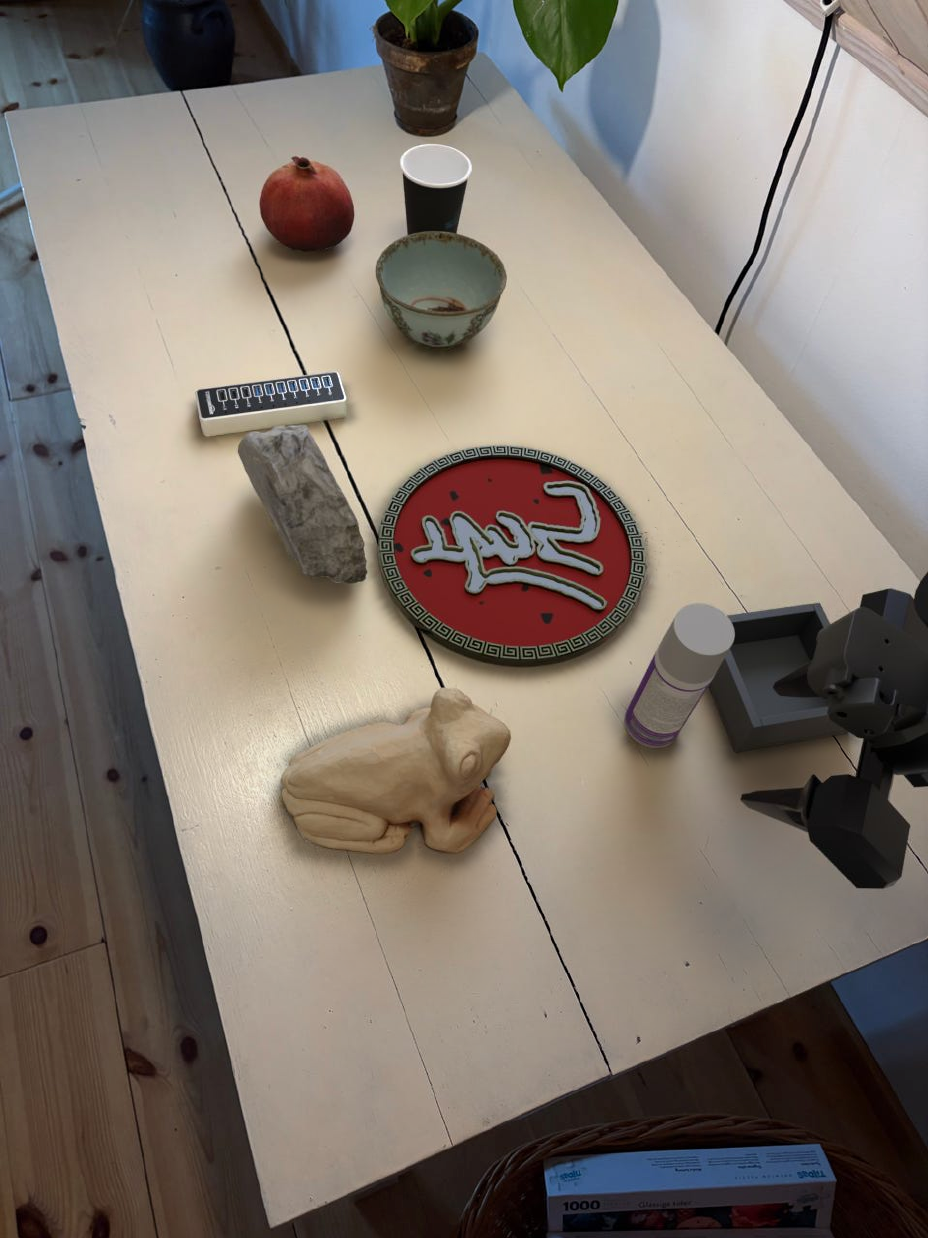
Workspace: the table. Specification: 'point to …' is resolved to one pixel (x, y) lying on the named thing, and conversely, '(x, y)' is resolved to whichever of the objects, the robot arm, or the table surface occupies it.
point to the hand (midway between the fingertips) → (760, 743)
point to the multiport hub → (271, 403)
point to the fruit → (306, 206)
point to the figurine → (400, 780)
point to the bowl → (440, 287)
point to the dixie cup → (434, 187)
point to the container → (679, 674)
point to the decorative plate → (511, 556)
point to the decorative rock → (305, 503)
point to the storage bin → (770, 679)
